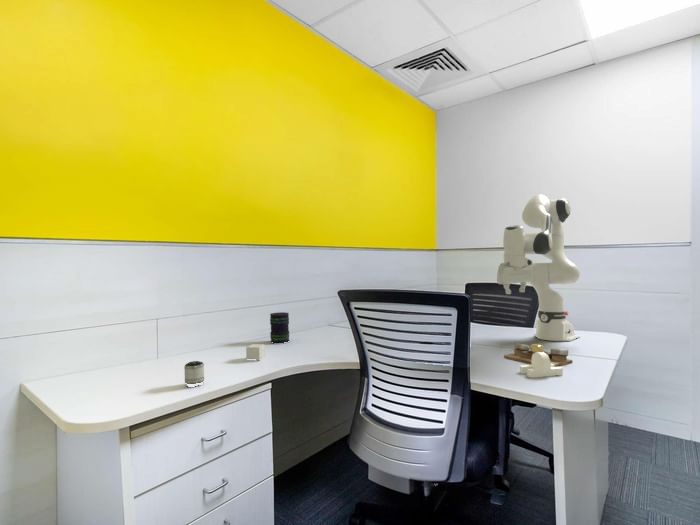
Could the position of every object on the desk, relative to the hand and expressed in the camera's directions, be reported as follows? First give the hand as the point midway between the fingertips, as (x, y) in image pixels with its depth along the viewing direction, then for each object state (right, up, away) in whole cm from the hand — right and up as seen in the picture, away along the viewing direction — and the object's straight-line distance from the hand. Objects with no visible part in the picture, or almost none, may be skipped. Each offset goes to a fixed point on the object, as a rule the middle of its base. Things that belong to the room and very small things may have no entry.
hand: (515, 293), depth 171 cm
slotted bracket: (-5, -27, -32) cm, 42 cm away
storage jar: (-111, -29, +32) cm, 119 cm away
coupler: (+3, -25, -14) cm, 29 cm away
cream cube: (-115, -29, -4) cm, 118 cm away
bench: (+3, -26, -14) cm, 30 cm away
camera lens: (-128, -29, -38) cm, 136 cm away
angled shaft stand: (+10, -26, -18) cm, 33 cm away
